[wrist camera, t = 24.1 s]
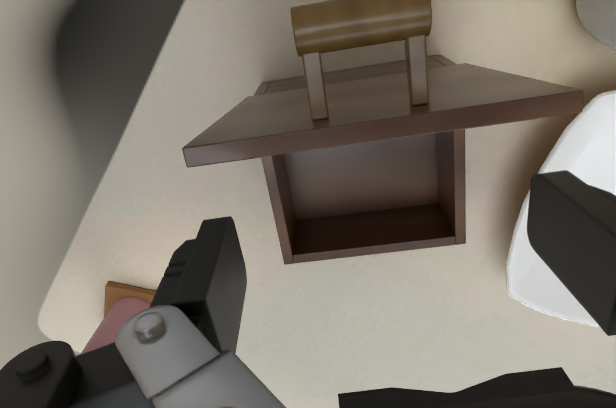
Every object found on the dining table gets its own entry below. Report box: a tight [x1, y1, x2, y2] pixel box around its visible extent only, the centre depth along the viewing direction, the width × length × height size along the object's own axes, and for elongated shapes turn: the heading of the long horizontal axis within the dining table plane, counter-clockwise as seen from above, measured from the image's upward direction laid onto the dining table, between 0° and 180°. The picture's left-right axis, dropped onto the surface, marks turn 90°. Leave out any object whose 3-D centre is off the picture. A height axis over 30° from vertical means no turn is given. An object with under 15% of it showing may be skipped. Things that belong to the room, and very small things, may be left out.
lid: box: [182, 0, 583, 168], centre depth 22 cm, size 14×15×5 cm
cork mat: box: [104, 282, 156, 318], centre depth 48 cm, size 6×6×1 cm
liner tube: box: [81, 297, 150, 354], centre depth 43 cm, size 5×5×10 cm
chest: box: [253, 55, 466, 264], centre depth 36 cm, size 14×15×7 cm
